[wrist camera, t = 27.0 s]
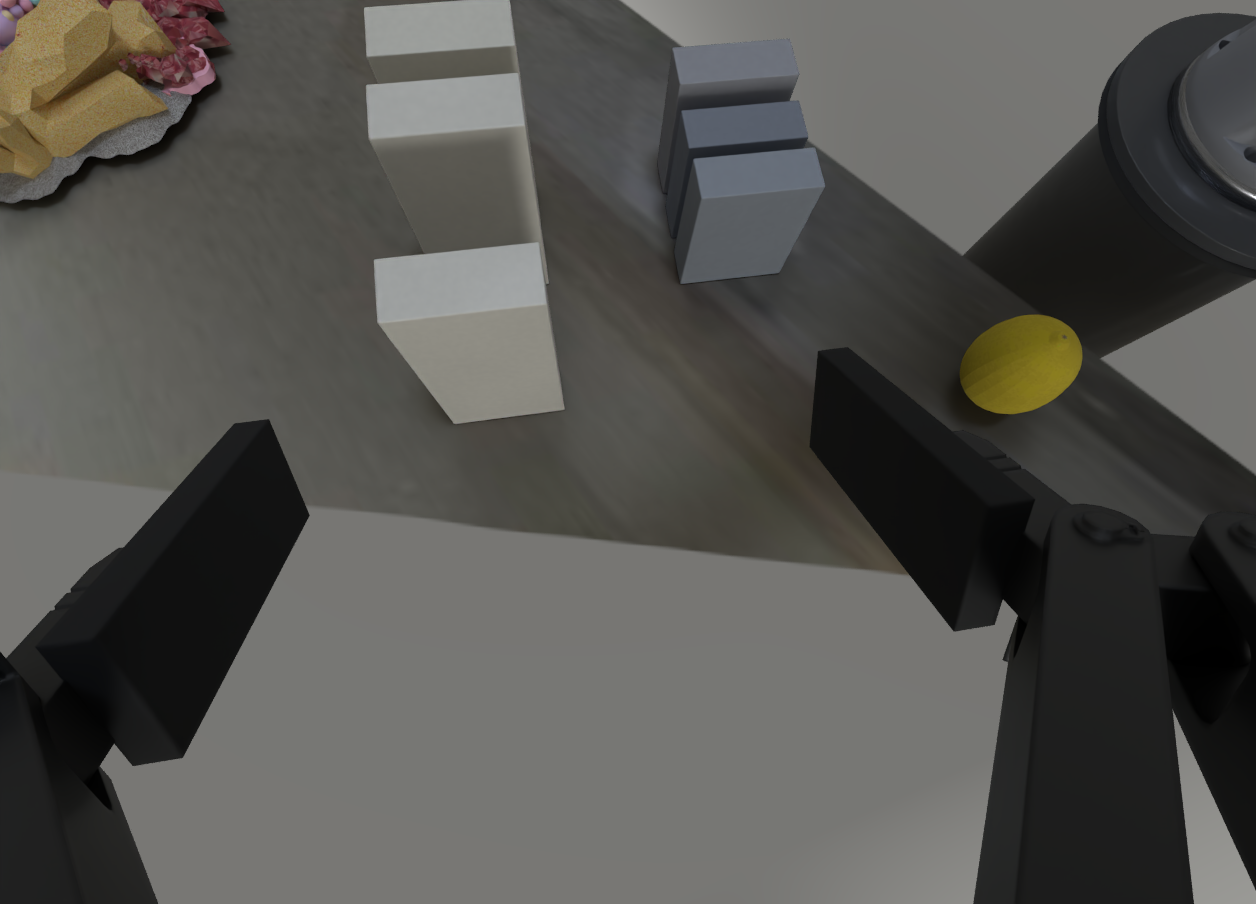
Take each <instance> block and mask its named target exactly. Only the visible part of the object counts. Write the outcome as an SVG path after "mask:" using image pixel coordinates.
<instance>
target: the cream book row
mask: <svg viewBox="0 0 1256 904" xmlns="http://www.w3.org/2000/svg"><path fill="white" fill-rule="evenodd" d="M364 17H365V35H366V53H367V59H368V61H369V63H370V66H371V68H372V71H373V73H374V75H375V78H376V80H377V83H378V84H372V85H366V99H367V117H368V136H369V140H370V142H371V145H372V147H373V149H374V151H375V153H376V155H377V157H378V159H379V161H380V163H381V165H382V167H383V169H384V171H385V174H386V176H387V178H388V180H389V182H390V184H391V186H392V188H393V190H394V192H395V194H396V196H397V198H398V201H399V203H400V205H401V207H402V209H403V211H404V213H405V215H406V217H407V219H408V221H409V223H410V225H411V227H412V230H413V232H414V234H415V236H416V238H417V240H418V242H419V244H420V246H421V248H422V250H423V252H424V254H431V253H440V252H450V251H459V250H469V249H478V248H488V247H497V246H506V245H516V244H525V243H535V242H538V243H539V244H540V249H541V255H542V261H543V268H544V274H545V281H546V284H549V279H548V271H547V264H546V256H545V248H544V241H543V235H542V228H541V221H540V219H541V218H540V210H539V203H538V195H537V187H536V180H535V173H534V166H533V159H532V152H531V145H530V138H529V131H528V125H527V118H526V111H525V104H524V97H523V90H522V83H521V76H520V69H519V62H518V55H517V48H516V41H515V34H514V27H513V20H512V13H511V6H510V0H464V1H449V2H435V3H421V4H407V5H392V6H378V7H365V8H364Z"/></svg>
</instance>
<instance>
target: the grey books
mask: <svg viewBox="0 0 1256 904" xmlns="http://www.w3.org/2000/svg"><path fill="white" fill-rule="evenodd" d="M798 76H799V71H798V67H797V63H796V60H795V56H794V52H793V48H792V45H791V41H790V39H778V40H766V41H753V42H740V43H727V44H714V45H702V46H690V47H676V48H672V54H671V62H670V69H669V77H668V85H667V92H666V100H665V107H664V115H663V123H662V130H661V138H660V145H659V153H658V161H657V165H658V171H659V176H660V181H661V187H662V192H663V194H666V193H668V194H667V200H666V206H665V207H666V213H667V218H668V223H669V228H670V234H671V238H676V237H677V239H676V244H675V249H674V255H675V260H676V265H677V270H678V276H679V281H680V284H685V283H694V282H703V281H712V280H721V279H730V278H739V277H748V276H757V275H766V274H775V273H779V272H780V270H781V268H782V266H783V265H784V263H785V261H786V259H787V257H788V255H789V253H790V251H791V249H792V248H793V246H794V244H795V242H796V240H797V238H798V236H799V234H800V233H801V231H802V229H803V227H804V225H805V223H806V221H807V219H808V217H809V216H810V214H811V212H812V210H813V208H814V206H815V204H816V202H817V201H818V199H819V197H820V195H821V193H822V191H823V189H824V187H825V184H824V180H823V176H822V172H821V168H820V165H819V161H818V157H817V153H816V150H815V148H814V147H813V148H804V146H805V144H806V141H807V139H808V133H807V130H806V126H805V122H804V118H803V114H802V111H801V107H800V103H799V101H790V98H791V95H792V93H793V90H794V87H795V85H796V82H797V79H798Z"/></svg>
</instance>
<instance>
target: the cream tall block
mask: <svg viewBox="0 0 1256 904" xmlns="http://www.w3.org/2000/svg"><path fill="white" fill-rule="evenodd" d="M374 274H375V291H376V309H377V323H378V324H379V326H380V327H381V328H382V330H383V331H384V332H385V334H386V335H387V336H388V338H389V339H390V340H391V341H392V343H393V344H394V345H395V347H396V348H397V349H398V351H399V352H400V353H401V355H402V356H403V357H404V359H405V360H406V361H407V363H408V364H409V365H410V366H411V368H412V369H413V370H414V372H415V373H416V374H417V376H418V377H419V378H420V380H421V381H422V382H423V384H424V385H425V386H426V388H427V389H428V390H429V391H430V393H431V394H432V395H433V397H434V398H435V399H436V401H437V402H438V403H439V405H440V406H441V407H442V409H443V410H444V411H445V413H446V414H447V415H448V416H449V418H450V419H451V420H452V422H453V423H454V424H459V423H467V422H475V421H483V420H490V419H498V418H506V417H514V416H521V415H529V414H537V413H545V412H552V411H560V410H564V409H565V407H564V400H563V392H562V385H561V377H560V370H559V363H558V357H557V351H556V344H555V338H554V331H553V325H552V319H551V312H550V306H549V300H548V293H547V287H546V281H545V274H544V268H543V261H542V255H541V249H540V244H539V243H538V242H535V243H525V244H516V245H506V246H497V247H488V248H478V249H469V250H459V251H450V252H440V253H431V254H421V255H412V256H402V257H393V258H384V259H375V260H374Z"/></svg>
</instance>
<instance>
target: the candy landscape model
mask: <svg viewBox="0 0 1256 904" xmlns="http://www.w3.org/2000/svg"><path fill="white" fill-rule="evenodd" d="M209 12H225V11H224V10H223V8H222V7H221V5H220V4H219V2H218V0H0V201H3V202H7V203H16V202H18V201H20V200H23V199H30V200H37V199H39V198H41V197H43V196H46V195H49V194H52V193H53V192H54V191H55V190H56V189H57V187H58V185H59V184H60V182H61V181H62V179H63V178H64V177H66V176H68V175H72V174H74V173H75V172H76V171H77V170H78V169H79V168H80V166H81V164H82V163H83V161H84V160H85V158H87V157H89V156H95V157H99V158H106V159H107V158H112V157H114V156H116V155H119V154H124V155H130V154H133V153H135V152H137V151H139V150H142V149H145V148H147V147H148V146H150V145H153V144H155V143H158V142H159V141H160V140H161V139H162V137H163V135H164V133H165V132H166V130H167V128H168V127H169V126H171V125H172V124H175V123H177V122H178V121H179V120H180V119H181V117H182V115H183V113H184V111H185V110H186V108H187V107H188V105H189V104H190V102H191V98H192V97H191V96H190V95H193V94H196V93H198V92H199V91H200V90H201V89H202V88H203V87H204V86H206V85H209V84H211V83H212V82H213V81H214V80H215V79H216V74H215V67H214V63H212V62H211V61H210V60H209V58H208V57H207V55H206V54H205V53H204V51H203V50H202V49H207V48H214V47H220V46H226V45H231V44H230V43H229V42H228V41H227V40H226V39H225V38H224V37H223V35H222V34H221V33H220V32H219V31H218V30H217V29H216V28H215V27H214V26H213V25H212V24H211V23H210V22H209V21H208V20H206V19H205V17H206V15H208V13H209Z"/></svg>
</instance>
